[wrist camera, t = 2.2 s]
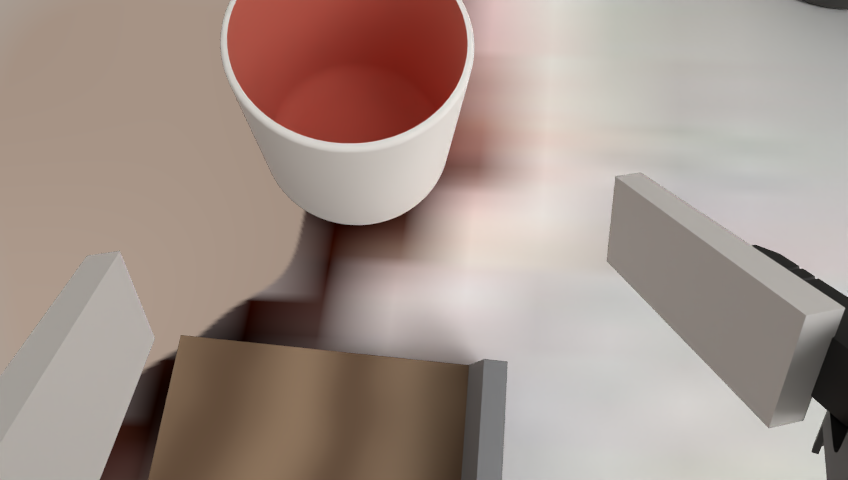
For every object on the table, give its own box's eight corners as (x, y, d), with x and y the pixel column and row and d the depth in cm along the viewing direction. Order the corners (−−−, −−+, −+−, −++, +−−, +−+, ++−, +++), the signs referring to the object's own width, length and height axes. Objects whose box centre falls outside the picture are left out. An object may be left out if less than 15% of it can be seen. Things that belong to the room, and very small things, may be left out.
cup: (416, 255, 29) (433, 185, 20) (240, 199, 29) (174, 102, 20) (465, 102, 32) (502, -24, 23) (306, 52, 32) (276, -95, 23)
